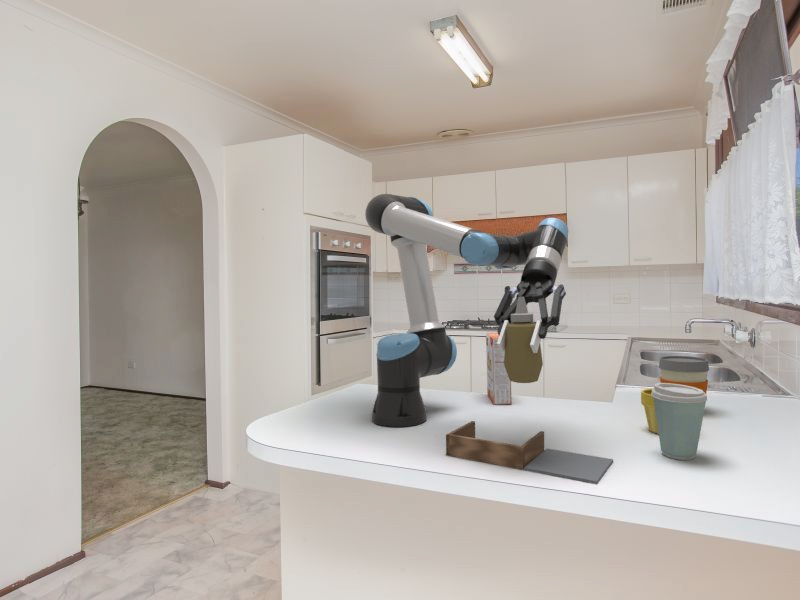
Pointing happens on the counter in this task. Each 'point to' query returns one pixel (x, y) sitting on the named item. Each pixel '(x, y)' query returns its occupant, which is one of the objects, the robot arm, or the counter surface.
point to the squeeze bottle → (521, 347)
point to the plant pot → (649, 409)
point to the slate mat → (570, 465)
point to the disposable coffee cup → (679, 418)
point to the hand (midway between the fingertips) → (516, 348)
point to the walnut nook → (492, 448)
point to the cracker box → (497, 372)
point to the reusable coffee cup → (684, 371)
